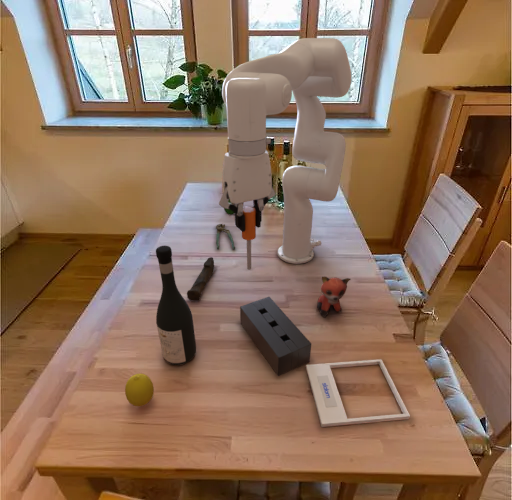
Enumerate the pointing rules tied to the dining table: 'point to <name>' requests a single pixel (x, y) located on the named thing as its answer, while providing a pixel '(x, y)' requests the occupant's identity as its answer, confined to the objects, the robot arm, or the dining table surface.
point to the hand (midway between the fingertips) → (248, 226)
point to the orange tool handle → (249, 230)
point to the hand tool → (201, 280)
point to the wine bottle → (173, 315)
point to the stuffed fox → (331, 294)
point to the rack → (275, 335)
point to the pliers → (221, 229)
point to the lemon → (139, 389)
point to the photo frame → (330, 399)
